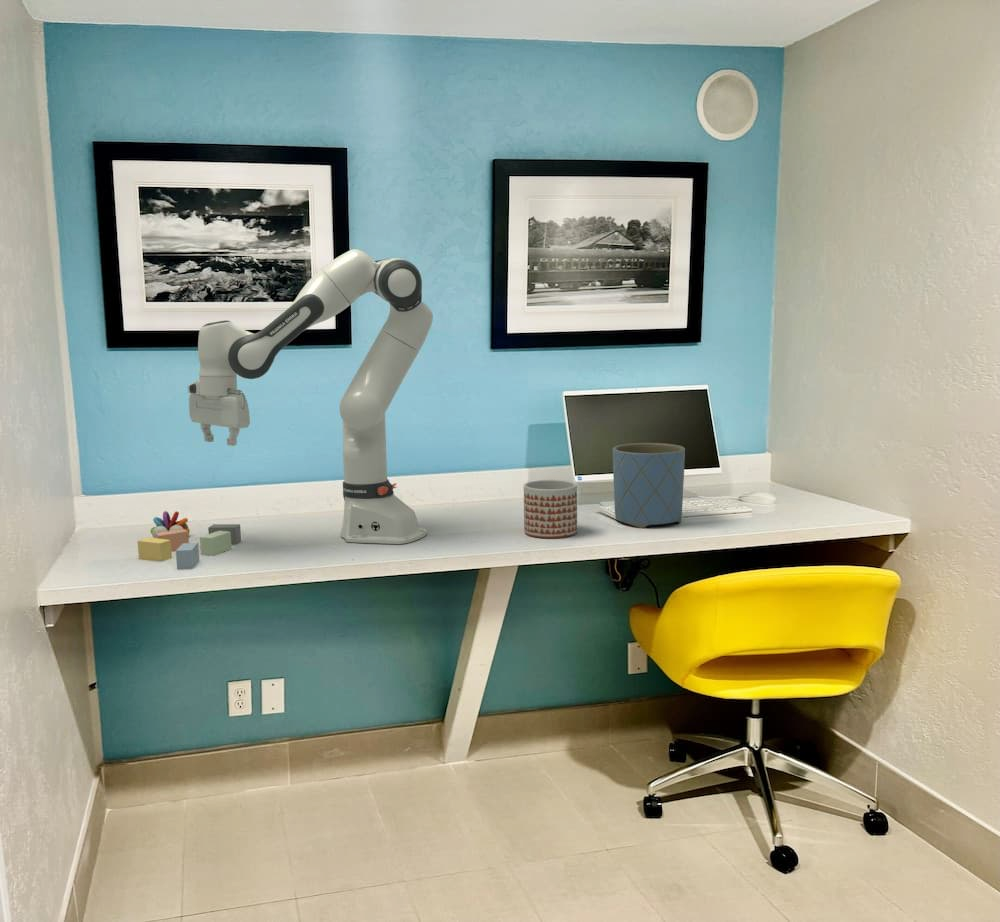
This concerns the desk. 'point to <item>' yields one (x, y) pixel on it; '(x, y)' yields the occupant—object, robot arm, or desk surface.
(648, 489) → the planter
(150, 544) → the ochre brick
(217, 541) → the sage brick
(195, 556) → the slate brick
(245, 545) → the desk surface
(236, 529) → the charcoal brick
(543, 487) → the vase
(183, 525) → the multicolored fanned-prong toy
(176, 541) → the terracotta brick
